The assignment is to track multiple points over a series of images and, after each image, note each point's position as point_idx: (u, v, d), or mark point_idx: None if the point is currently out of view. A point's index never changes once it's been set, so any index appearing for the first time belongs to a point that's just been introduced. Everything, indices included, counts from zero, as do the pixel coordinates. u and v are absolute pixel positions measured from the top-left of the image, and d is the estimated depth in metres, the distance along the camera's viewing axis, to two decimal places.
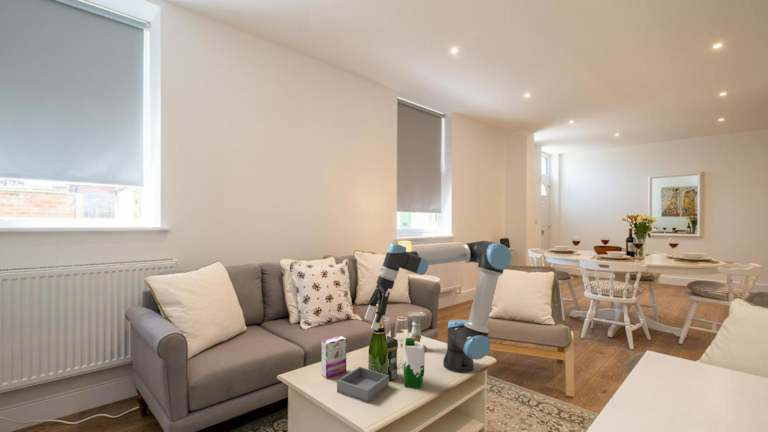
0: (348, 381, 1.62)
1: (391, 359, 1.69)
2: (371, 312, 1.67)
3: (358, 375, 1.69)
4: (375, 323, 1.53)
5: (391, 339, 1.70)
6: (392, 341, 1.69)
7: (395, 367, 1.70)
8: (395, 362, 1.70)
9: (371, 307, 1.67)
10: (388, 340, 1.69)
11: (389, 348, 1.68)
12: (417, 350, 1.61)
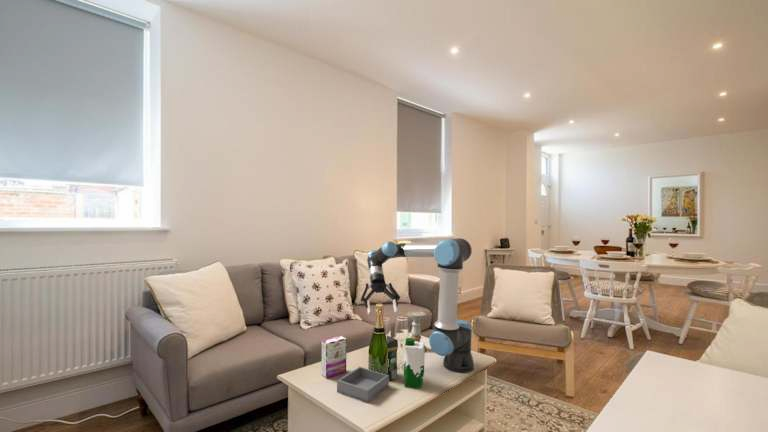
0: (348, 381, 1.62)
1: (391, 359, 1.69)
2: (394, 304, 1.86)
3: (358, 375, 1.69)
4: (367, 308, 1.82)
5: (391, 339, 1.70)
6: (392, 341, 1.69)
7: (395, 367, 1.70)
8: (395, 362, 1.70)
9: (393, 302, 1.88)
10: (388, 340, 1.69)
11: (389, 348, 1.68)
12: (417, 350, 1.61)
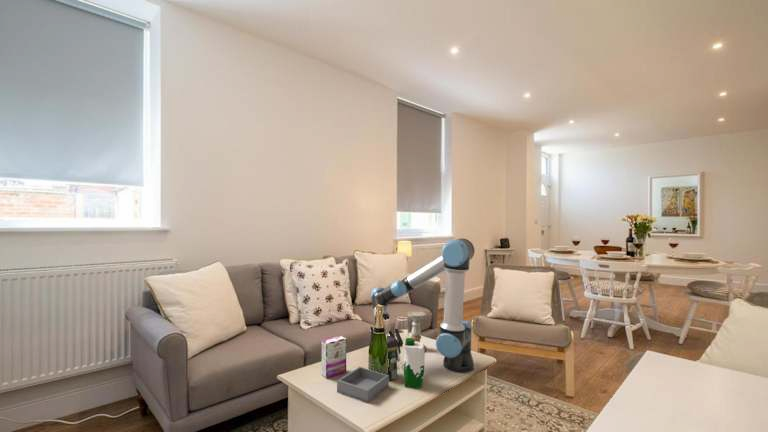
0: (348, 381, 1.62)
1: (391, 359, 1.69)
2: None
3: (358, 375, 1.69)
4: None
5: (391, 339, 1.70)
6: (392, 341, 1.69)
7: (395, 367, 1.70)
8: (395, 362, 1.70)
9: None
10: (388, 340, 1.69)
11: (389, 348, 1.68)
12: (417, 350, 1.61)
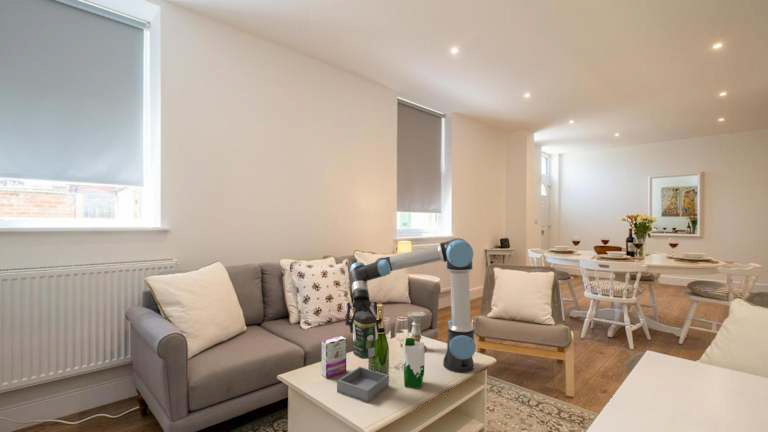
0: (348, 381, 1.62)
1: (368, 336, 1.56)
2: None
3: (358, 375, 1.69)
4: (353, 334, 1.57)
5: (368, 315, 1.57)
6: (369, 317, 1.56)
7: (372, 345, 1.57)
8: (372, 340, 1.57)
9: None
10: (365, 316, 1.56)
11: (365, 324, 1.55)
12: (417, 350, 1.61)
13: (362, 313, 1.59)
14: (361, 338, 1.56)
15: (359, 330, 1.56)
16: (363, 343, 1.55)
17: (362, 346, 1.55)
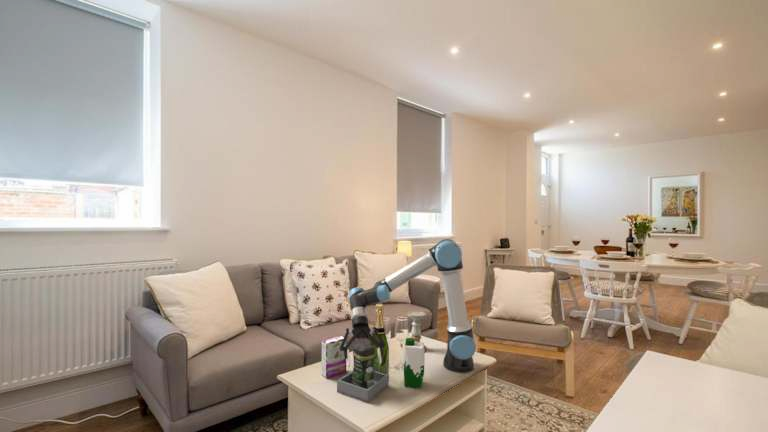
0: (348, 381, 1.62)
1: (366, 368, 1.56)
2: (378, 354, 1.61)
3: None
4: (347, 360, 1.57)
5: (367, 347, 1.57)
6: (368, 349, 1.56)
7: (371, 377, 1.57)
8: (371, 372, 1.57)
9: (377, 350, 1.63)
10: (364, 348, 1.56)
11: (364, 356, 1.55)
12: (417, 350, 1.61)
13: (361, 345, 1.59)
14: (360, 370, 1.56)
15: (358, 362, 1.56)
16: (362, 375, 1.55)
17: (361, 378, 1.55)
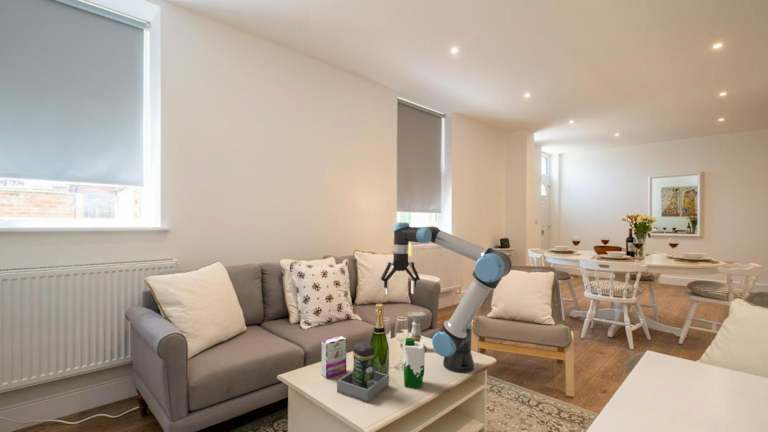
0: (348, 381, 1.62)
1: (366, 368, 1.56)
2: (412, 286, 1.90)
3: None
4: (386, 289, 1.88)
5: (367, 347, 1.57)
6: (368, 349, 1.56)
7: (371, 377, 1.57)
8: (371, 372, 1.57)
9: (412, 282, 1.91)
10: (364, 348, 1.56)
11: (364, 356, 1.55)
12: (417, 350, 1.61)
13: (361, 345, 1.59)
14: (360, 370, 1.56)
15: (358, 362, 1.56)
16: (362, 375, 1.55)
17: (361, 378, 1.55)
